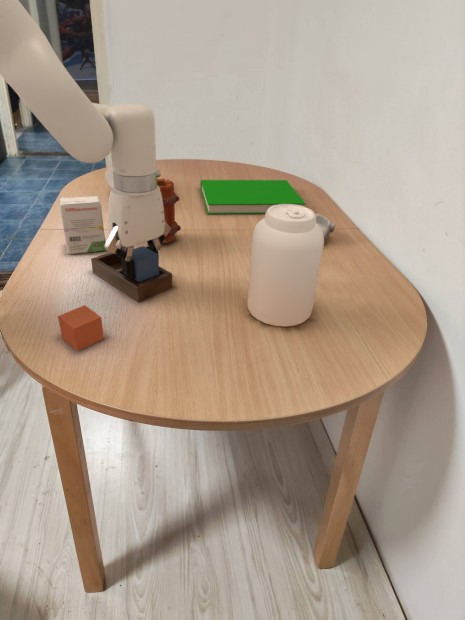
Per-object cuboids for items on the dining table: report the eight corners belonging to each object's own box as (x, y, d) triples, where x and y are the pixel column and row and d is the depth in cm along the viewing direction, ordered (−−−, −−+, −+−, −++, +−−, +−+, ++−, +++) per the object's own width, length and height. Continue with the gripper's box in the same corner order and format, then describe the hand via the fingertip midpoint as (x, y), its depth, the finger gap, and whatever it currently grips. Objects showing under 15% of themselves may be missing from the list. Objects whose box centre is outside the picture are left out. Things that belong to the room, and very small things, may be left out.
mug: (159, 229, 117) (157, 171, 109) (186, 236, 114) (185, 177, 106) (122, 250, 106) (117, 186, 97) (151, 258, 103) (148, 194, 94)
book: (304, 213, 132) (305, 203, 130) (208, 214, 127) (208, 204, 126) (285, 188, 150) (286, 179, 149) (200, 188, 146) (200, 179, 144)
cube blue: (138, 282, 87) (137, 261, 85) (123, 273, 90) (121, 252, 88) (159, 274, 91) (158, 254, 88) (143, 265, 93) (142, 245, 91)
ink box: (104, 242, 109) (98, 194, 102) (106, 251, 105) (101, 202, 98) (66, 246, 106) (58, 197, 100) (67, 255, 102) (59, 204, 96)
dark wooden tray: (138, 302, 87) (137, 287, 85) (92, 272, 96) (90, 258, 94) (172, 287, 92) (172, 273, 91) (126, 260, 101) (124, 247, 99)
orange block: (77, 351, 74) (73, 328, 71) (61, 337, 77) (57, 315, 74) (104, 338, 77) (101, 316, 74) (88, 326, 80) (84, 304, 77)
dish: (337, 238, 118) (340, 220, 115) (309, 254, 108) (312, 235, 106) (290, 222, 125) (292, 205, 122) (260, 237, 116) (262, 218, 113)
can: (324, 312, 87) (343, 213, 76) (281, 336, 80) (296, 231, 69) (276, 286, 95) (287, 193, 84) (233, 307, 87) (239, 207, 76)
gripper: (159, 168, 88) (162, 253, 98) (81, 184, 77) (93, 278, 87) (185, 177, 84) (185, 265, 93) (106, 196, 73) (115, 293, 83)
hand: (141, 270), depth 90 cm, fingers closed on cube blue, 5 cm apart
